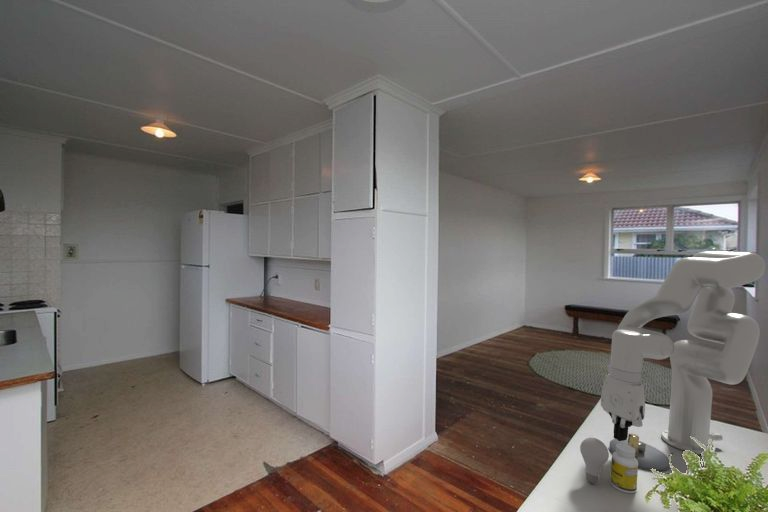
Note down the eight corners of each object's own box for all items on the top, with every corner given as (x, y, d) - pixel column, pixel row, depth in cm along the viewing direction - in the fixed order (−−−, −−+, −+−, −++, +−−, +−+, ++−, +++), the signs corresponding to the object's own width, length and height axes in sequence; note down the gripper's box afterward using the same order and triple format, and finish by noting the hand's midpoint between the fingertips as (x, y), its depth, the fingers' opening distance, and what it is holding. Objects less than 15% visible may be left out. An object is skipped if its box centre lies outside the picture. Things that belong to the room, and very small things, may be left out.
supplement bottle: (605, 478, 91) (607, 440, 91) (627, 480, 91) (629, 442, 91) (618, 493, 86) (621, 453, 86) (641, 495, 86) (644, 454, 86)
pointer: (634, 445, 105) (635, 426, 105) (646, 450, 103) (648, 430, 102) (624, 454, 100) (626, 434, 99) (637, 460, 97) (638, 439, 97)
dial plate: (641, 442, 110) (641, 437, 110) (683, 470, 97) (683, 465, 96) (598, 442, 109) (598, 437, 109) (634, 471, 95) (635, 465, 95)
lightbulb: (595, 493, 85) (598, 448, 85) (572, 478, 91) (575, 435, 91) (612, 488, 88) (615, 443, 88) (589, 473, 94) (592, 431, 93)
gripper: (591, 366, 107) (587, 427, 108) (642, 386, 93) (637, 456, 94) (610, 365, 110) (605, 424, 110) (662, 383, 96) (656, 452, 96)
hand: (620, 439), depth 102 cm, fingers closed
